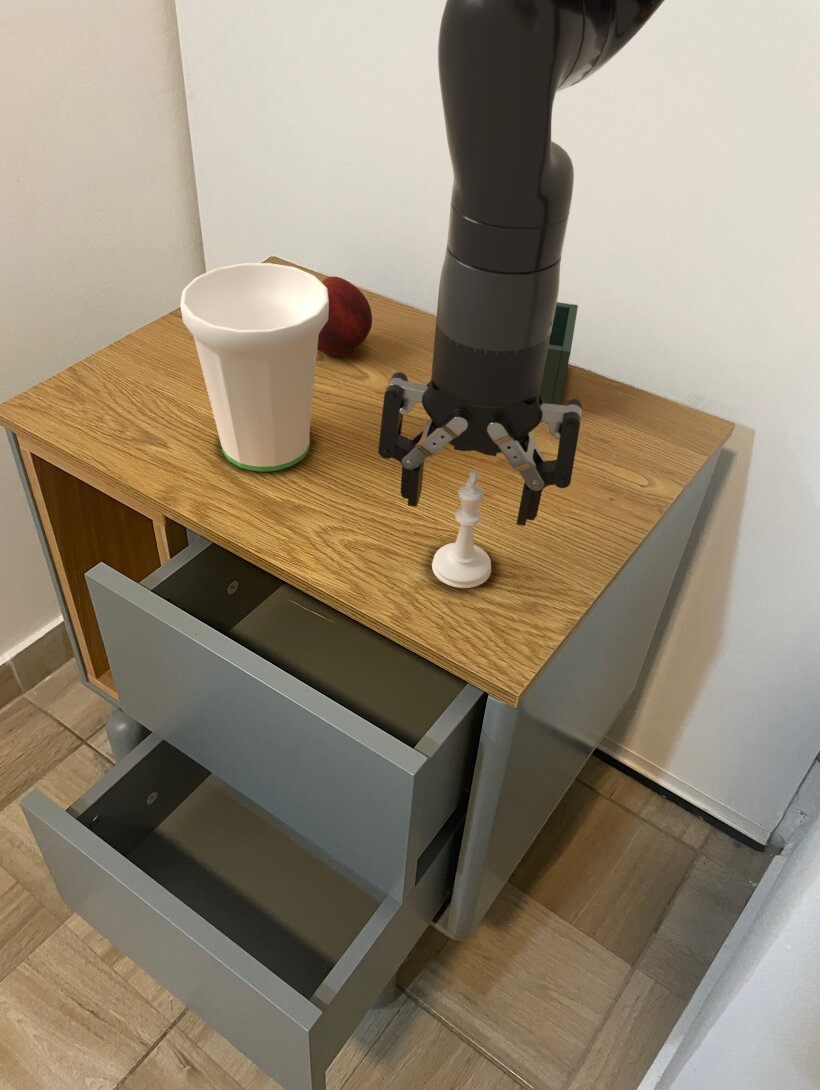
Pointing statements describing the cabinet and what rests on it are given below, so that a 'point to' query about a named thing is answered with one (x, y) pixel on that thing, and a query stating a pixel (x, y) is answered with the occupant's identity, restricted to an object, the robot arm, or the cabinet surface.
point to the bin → (558, 353)
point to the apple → (344, 318)
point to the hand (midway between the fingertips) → (468, 509)
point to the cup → (258, 357)
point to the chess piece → (464, 543)
